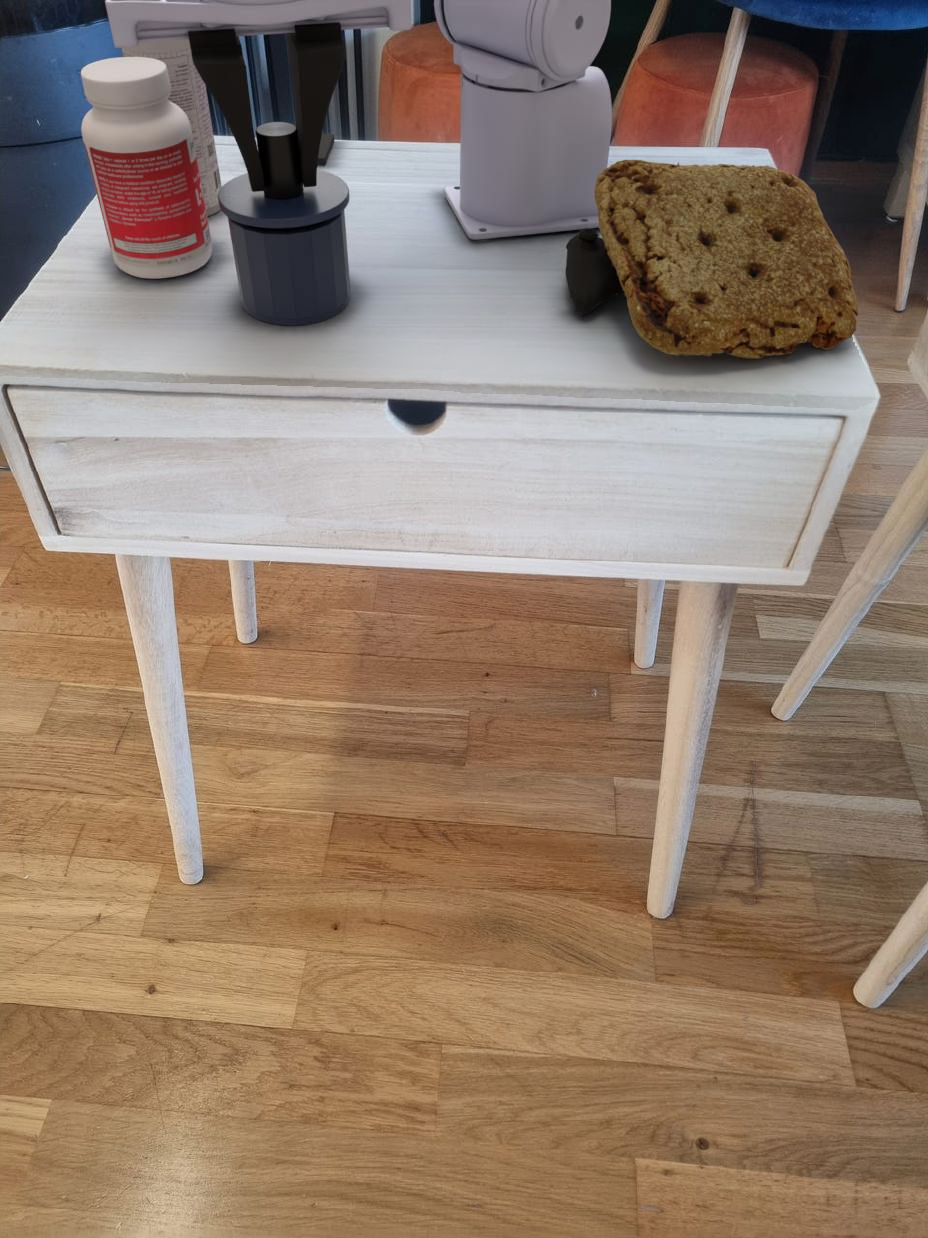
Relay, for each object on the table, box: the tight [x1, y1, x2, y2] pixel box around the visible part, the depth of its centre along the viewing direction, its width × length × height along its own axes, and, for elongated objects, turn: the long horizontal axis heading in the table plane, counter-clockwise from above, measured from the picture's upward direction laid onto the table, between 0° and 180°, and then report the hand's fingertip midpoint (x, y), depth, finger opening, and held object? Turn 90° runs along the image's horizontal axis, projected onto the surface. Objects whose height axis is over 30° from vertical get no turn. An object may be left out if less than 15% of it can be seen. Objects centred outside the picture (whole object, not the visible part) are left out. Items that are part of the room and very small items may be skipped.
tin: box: [227, 209, 351, 326], centre depth 57 cm, size 6×6×5 cm
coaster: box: [317, 133, 335, 166], centre depth 75 cm, size 5×5×1 cm
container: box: [121, 39, 223, 217], centre depth 63 cm, size 5×5×15 cm
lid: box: [218, 121, 350, 228], centre depth 54 cm, size 7×7×4 cm
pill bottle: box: [80, 56, 213, 280], centre depth 59 cm, size 6×6×11 cm
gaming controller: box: [564, 228, 625, 316], centre depth 59 cm, size 9×5×5 cm
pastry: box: [594, 159, 859, 359], centre depth 56 cm, size 17×17×3 cm
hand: (283, 182), depth 54 cm, fingers closed on lid, 2 cm apart
